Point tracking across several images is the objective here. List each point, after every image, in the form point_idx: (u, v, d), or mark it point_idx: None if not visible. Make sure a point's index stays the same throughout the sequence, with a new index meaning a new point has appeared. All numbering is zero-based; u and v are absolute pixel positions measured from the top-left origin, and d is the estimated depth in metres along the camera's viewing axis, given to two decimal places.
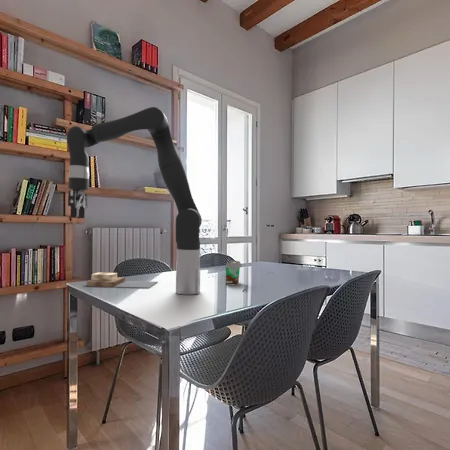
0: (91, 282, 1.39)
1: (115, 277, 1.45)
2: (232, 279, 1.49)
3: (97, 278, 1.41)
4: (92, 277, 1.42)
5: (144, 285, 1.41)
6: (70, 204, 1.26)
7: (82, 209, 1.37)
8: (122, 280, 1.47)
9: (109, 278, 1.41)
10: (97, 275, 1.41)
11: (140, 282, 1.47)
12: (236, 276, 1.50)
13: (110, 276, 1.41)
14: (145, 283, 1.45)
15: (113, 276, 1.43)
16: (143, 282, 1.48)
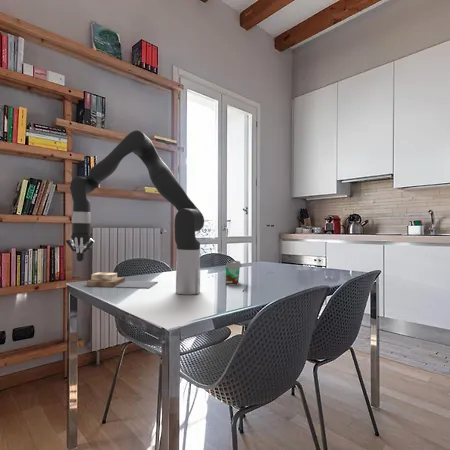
0: (91, 282, 1.39)
1: (115, 277, 1.45)
2: (232, 280, 1.49)
3: (97, 278, 1.41)
4: (92, 277, 1.42)
5: (144, 285, 1.41)
6: (87, 250, 1.45)
7: None
8: (122, 280, 1.47)
9: (109, 278, 1.41)
10: (97, 275, 1.41)
11: (140, 282, 1.47)
12: (236, 276, 1.50)
13: (110, 276, 1.41)
14: (145, 283, 1.45)
15: (113, 276, 1.43)
16: (143, 282, 1.48)
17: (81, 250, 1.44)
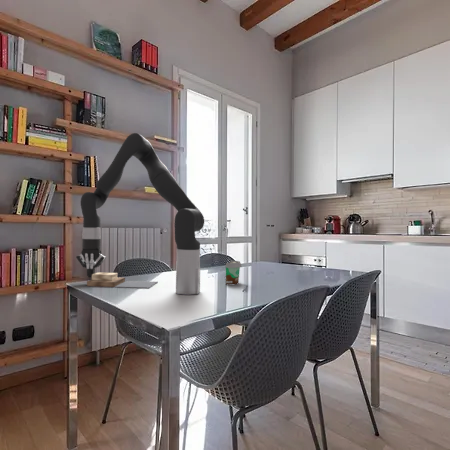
0: (91, 282, 1.39)
1: (115, 277, 1.45)
2: (232, 280, 1.49)
3: (97, 278, 1.41)
4: (92, 277, 1.41)
5: (144, 285, 1.41)
6: (97, 266, 1.44)
7: None
8: (122, 280, 1.47)
9: (109, 278, 1.41)
10: (97, 275, 1.41)
11: (140, 282, 1.47)
12: (236, 276, 1.50)
13: (110, 276, 1.41)
14: (145, 283, 1.45)
15: (114, 276, 1.43)
16: (143, 282, 1.48)
17: (91, 266, 1.43)
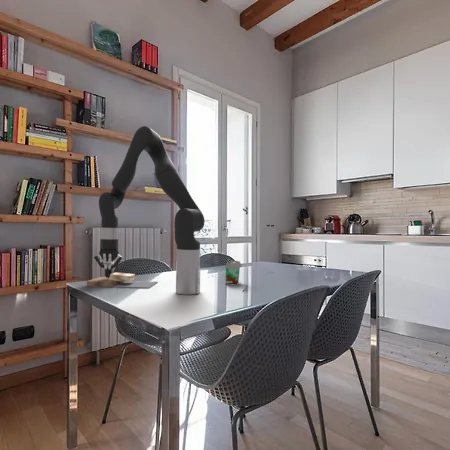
0: (91, 282, 1.39)
1: (133, 278, 1.45)
2: (232, 280, 1.49)
3: (115, 278, 1.41)
4: (110, 277, 1.41)
5: (144, 285, 1.41)
6: (115, 266, 1.44)
7: None
8: None
9: (127, 279, 1.41)
10: (115, 275, 1.41)
11: (140, 282, 1.47)
12: (236, 276, 1.50)
13: (128, 277, 1.41)
14: (145, 283, 1.45)
15: (131, 278, 1.43)
16: (143, 282, 1.48)
17: (109, 266, 1.43)
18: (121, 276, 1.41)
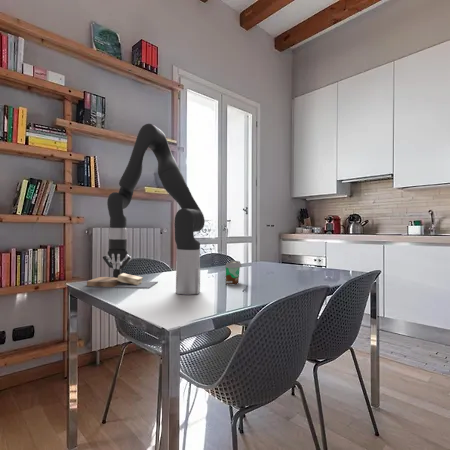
0: (91, 282, 1.39)
1: (140, 281, 1.45)
2: (232, 280, 1.49)
3: (123, 280, 1.41)
4: (118, 278, 1.41)
5: (144, 285, 1.41)
6: (124, 266, 1.44)
7: None
8: None
9: (135, 282, 1.41)
10: (124, 277, 1.41)
11: None
12: (236, 276, 1.50)
13: (136, 280, 1.41)
14: (145, 283, 1.45)
15: (139, 281, 1.43)
16: (143, 282, 1.48)
17: (118, 266, 1.43)
18: (129, 278, 1.41)
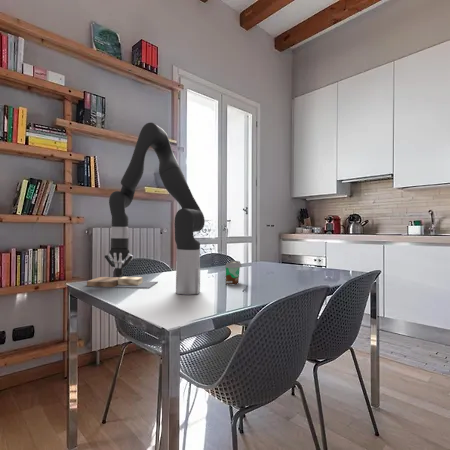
0: (91, 282, 1.39)
1: (141, 281, 1.45)
2: (232, 280, 1.49)
3: (123, 282, 1.41)
4: (118, 281, 1.41)
5: (144, 285, 1.41)
6: (126, 265, 1.43)
7: None
8: None
9: (136, 282, 1.41)
10: (123, 279, 1.41)
11: None
12: (236, 276, 1.50)
13: (137, 280, 1.41)
14: (145, 283, 1.45)
15: (139, 281, 1.43)
16: (143, 282, 1.48)
17: (120, 265, 1.43)
18: (129, 280, 1.41)
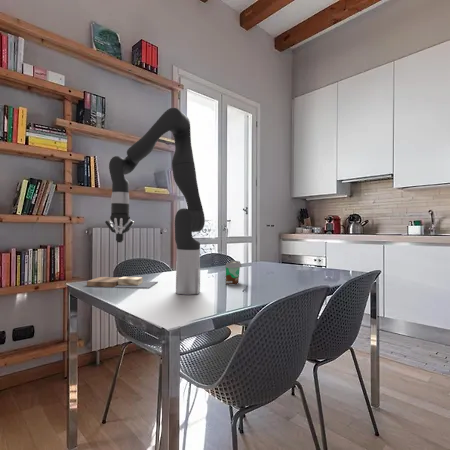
0: (91, 282, 1.39)
1: (141, 281, 1.45)
2: (232, 280, 1.49)
3: (123, 282, 1.41)
4: (118, 281, 1.41)
5: (144, 285, 1.41)
6: (126, 231, 1.43)
7: None
8: None
9: (136, 282, 1.41)
10: (123, 279, 1.41)
11: None
12: (236, 276, 1.50)
13: (137, 280, 1.41)
14: (145, 283, 1.45)
15: (139, 281, 1.43)
16: (143, 282, 1.48)
17: (120, 231, 1.43)
18: (129, 280, 1.41)
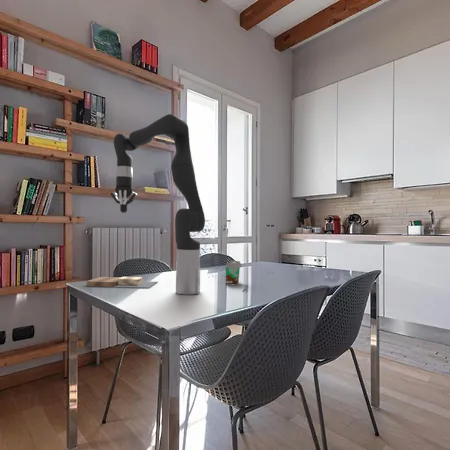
0: (91, 282, 1.39)
1: (141, 281, 1.45)
2: (232, 280, 1.49)
3: (123, 282, 1.41)
4: (118, 281, 1.41)
5: (144, 285, 1.41)
6: (130, 202, 1.57)
7: None
8: None
9: (136, 282, 1.41)
10: (123, 279, 1.41)
11: None
12: (236, 276, 1.50)
13: (137, 280, 1.41)
14: (145, 283, 1.45)
15: (139, 281, 1.43)
16: (143, 282, 1.48)
17: (124, 202, 1.56)
18: (129, 280, 1.41)
